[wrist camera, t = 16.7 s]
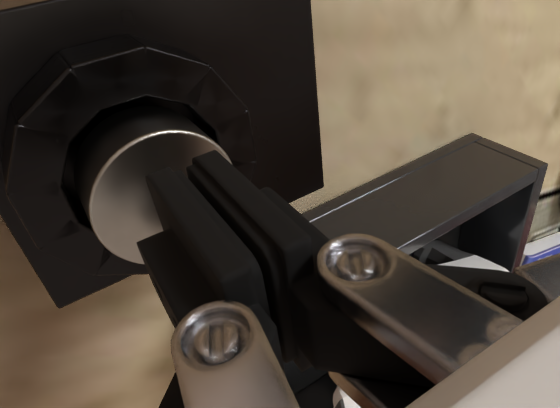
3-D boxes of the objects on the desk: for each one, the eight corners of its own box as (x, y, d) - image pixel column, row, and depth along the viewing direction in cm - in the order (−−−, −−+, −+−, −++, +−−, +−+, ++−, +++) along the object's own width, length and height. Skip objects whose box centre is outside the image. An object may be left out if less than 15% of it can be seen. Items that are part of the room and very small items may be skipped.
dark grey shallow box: (251, 416, 28) (291, 485, 24) (204, 259, 20) (255, 329, 17) (448, 289, 34) (502, 329, 31) (472, 132, 26) (549, 163, 23)
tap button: (102, 247, 13) (120, 288, 12) (48, 132, 11) (61, 164, 9) (218, 198, 14) (247, 229, 13) (191, 86, 12) (222, 108, 11)
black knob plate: (49, 273, 16) (67, 347, 13) (-102, 18, 11) (-125, 50, 8) (296, 167, 20) (351, 206, 17) (271, -57, 15) (344, -54, 12)
